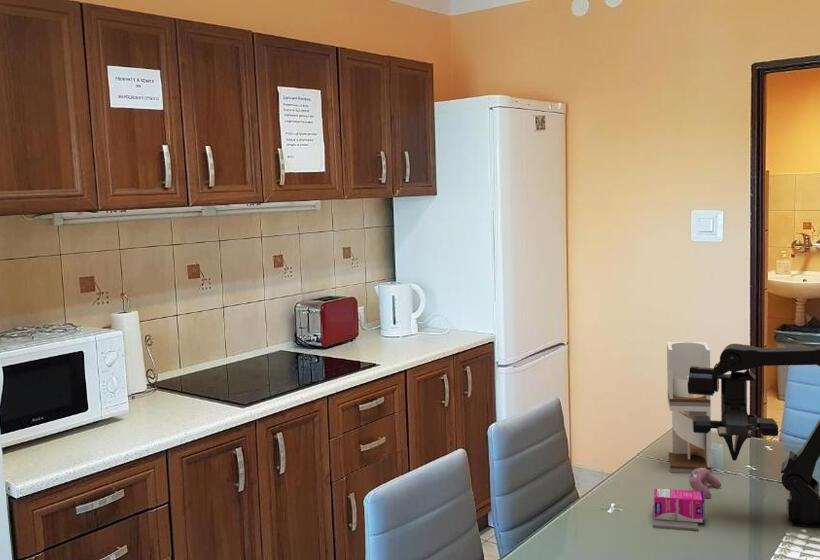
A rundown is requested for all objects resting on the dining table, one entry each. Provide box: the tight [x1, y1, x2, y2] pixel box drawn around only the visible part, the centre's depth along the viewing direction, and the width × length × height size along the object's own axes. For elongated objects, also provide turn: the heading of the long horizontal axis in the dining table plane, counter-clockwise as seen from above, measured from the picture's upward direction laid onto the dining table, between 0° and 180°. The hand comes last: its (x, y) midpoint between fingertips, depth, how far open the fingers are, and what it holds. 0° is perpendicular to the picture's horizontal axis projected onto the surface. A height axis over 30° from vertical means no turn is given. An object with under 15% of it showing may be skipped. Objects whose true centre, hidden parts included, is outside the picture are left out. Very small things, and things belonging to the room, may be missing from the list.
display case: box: [666, 341, 712, 474], centre depth 218 cm, size 11×11×35 cm
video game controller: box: [688, 467, 722, 499], centre depth 201 cm, size 10×5×7 cm, turn 142°
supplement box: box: [653, 488, 706, 524], centre depth 185 cm, size 6×6×12 cm
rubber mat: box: [652, 504, 699, 532], centre depth 185 cm, size 10×12×1 cm
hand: (734, 460), depth 186 cm, fingers closed
